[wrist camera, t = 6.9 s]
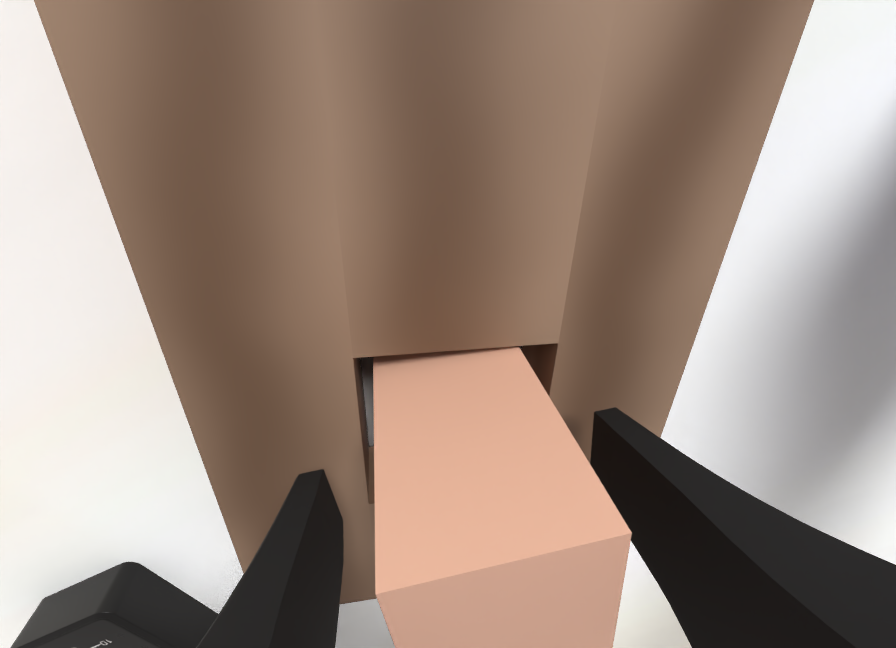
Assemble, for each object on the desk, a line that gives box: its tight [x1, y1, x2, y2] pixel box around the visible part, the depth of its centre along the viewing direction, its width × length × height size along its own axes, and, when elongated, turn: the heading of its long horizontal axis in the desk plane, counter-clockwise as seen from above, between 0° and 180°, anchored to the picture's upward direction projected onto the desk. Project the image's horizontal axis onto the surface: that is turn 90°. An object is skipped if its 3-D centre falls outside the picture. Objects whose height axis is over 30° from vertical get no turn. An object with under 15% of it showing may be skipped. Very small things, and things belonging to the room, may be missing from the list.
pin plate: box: [34, 0, 814, 604], centre depth 12 cm, size 14×20×2 cm
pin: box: [373, 346, 632, 648], centre depth 11 cm, size 4×4×8 cm
